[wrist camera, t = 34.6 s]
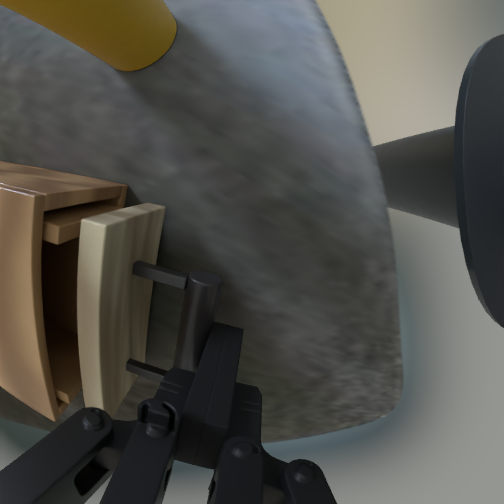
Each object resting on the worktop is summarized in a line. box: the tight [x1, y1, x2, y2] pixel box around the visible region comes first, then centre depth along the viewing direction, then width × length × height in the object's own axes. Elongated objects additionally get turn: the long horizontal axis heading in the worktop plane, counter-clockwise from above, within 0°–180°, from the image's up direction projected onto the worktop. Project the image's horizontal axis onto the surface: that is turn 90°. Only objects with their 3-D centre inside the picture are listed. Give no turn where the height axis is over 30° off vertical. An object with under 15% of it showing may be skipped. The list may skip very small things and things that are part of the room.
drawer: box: [41, 201, 223, 419], centre depth 14 cm, size 18×11×7 cm, turn 76°
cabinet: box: [0, 161, 128, 422], centre depth 14 cm, size 14×12×8 cm
